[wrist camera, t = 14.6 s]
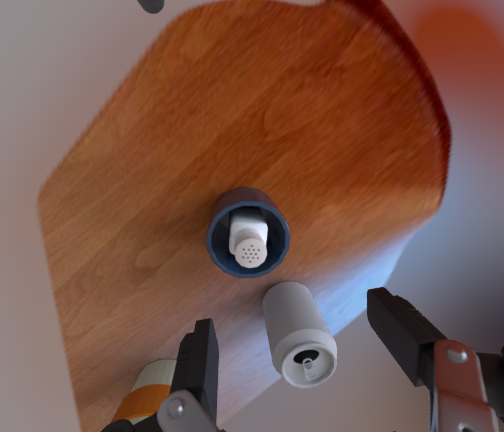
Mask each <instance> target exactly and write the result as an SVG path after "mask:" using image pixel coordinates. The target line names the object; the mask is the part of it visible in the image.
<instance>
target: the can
mask: <svg viewBox="0 0 504 432" xmlns="http://www.w3.org/2000/svg"><path fill="white" fill-rule="evenodd" d="M262 307H263V314H264V319H265V324H266V330H267V335H268V340H269V345H270V351H271V356H272V361H273V365H274V367H275V369H276V371H277V372H278V373H280V374H281V375H282V377H283V379H284V380H285V381H286V382H287V383H288V384H290V385H292V386H295V387H298V388H310V387H315V386H317V385H320V384H322V383H323V382H325V381H326V380H328V379H329V378H330V377H331V375H332V374H333V373H334V371H335V368H336V364H337V363H336V362H337V359H336V356H337V346H336V343H335V341H334V339H333V337H332V335H331V333H330V331H329V329H328V327H327V325H326V323H325V321H324V319H323V317H322V315H321V313H320V311H319V309H318V307H317V305H316V303H315V301H314V299H313V297H312V295H311V293H310V291H309V290H308V289H307V288H306V287H305V286H304V285H302V284H300V283H297V282H291V281H289V282H282V283H279V284H277V285H275V286H273V287H272V288H271V289H269V290H268V292H267V293H266V295H265V296H264V299H263V302H262Z"/></svg>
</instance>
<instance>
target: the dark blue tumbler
mask: <svg viewBox="0 0 504 432" xmlns="http://www.w3.org/2000/svg"><path fill="white" fill-rule="evenodd" d="M235 208H252V209H259V210H261V212H262V214H263V217H264V219H265V222H266V224H267V228H268V231H267V241H266V249H267V256H266V259H265V261H264V262H263V263H262V264H260V265H259V266H258V267H253V268H247V267H243V266H241V265H240V264H239V263H238V262H237V261H236V258H235V255H233V254H232V253H230V250H229V227H230V214H231V210H233V209H235ZM289 243H290V232H289V229H288V226H287V223H286V220H285V218H284V217H283V215H282V214H281V212H280V211H279V209H278V207H277V206H276V204H275V203H274V202H273V201H272V200H271V198H270V197H269V196H268V195H266V194H265V193H263V192H262V191H260V190H257V189H254V188H247V187H246V188H237V189H234V190H231V191H229V192H227V193H226V194H224V195H223V196H222V197H221V198H220V199H219V200H218V201H217V202H216V204H215V206H214V208H213V211H212V213H211V216H210V221H209V226H208V230H207V250H208V252H209V254H210V256H211V259H212V261H213V262H214V263H215V264H216V265H217V266H218V267H219V268H220V269H221V270H222V271H223V272H225V273H227V274H230V275H233V276H235V277H238V278H256V277H259V276H262V275H264V274H267V273H269V272H271V271H272V270H273V269H275V268H276V267H277V266H278V265H279V264H281V263H282V261H283V259H284V257H285V255H286V254H287V252H288V250H289Z"/></svg>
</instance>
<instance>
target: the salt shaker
mask: <svg viewBox="0 0 504 432" xmlns="http://www.w3.org/2000/svg"><path fill="white" fill-rule="evenodd" d="M267 231H268V228H267V224H266V222H265V219H264V217H263V214H262V212H261V210H259V209H252V208H235V209H233V210H231V214H230V227H229V250H230V253H232V254H233V255H235V258H236V261H237V262H238V263H239V264H240V265H241V266H243V267H247V268H253V267H258V266H259V265H260V264H262V263H263V262H264V261H265V259H266V256H267V249H266V241H267Z"/></svg>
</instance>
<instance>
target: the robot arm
mask: <svg viewBox="0 0 504 432" xmlns="http://www.w3.org/2000/svg"><path fill="white" fill-rule="evenodd" d="M367 317H368V321H369V323H370V325H371V327H372V328H373V330H374V331H375V332H376V334H377V335H378V337H379V338H380V339H381V341H382V342H383V343H384V345H385V346H386V347H387V349H388V350H389V352H390V353H391V354H392V356H393V357H394V358H395V360H396V361H397V363H398V364H399V365H400V367H401V368H402V370H403V371H404V372H405V374H406V375H407V376H408V378H409V379H410V381H411V382H412V383H413V385H414V386H415V387H419V386H424V385H426V387H427V388H428V389H429V432H500V431H499V427H498V422H497V417H496V416H498V417H499V418H500V419H501V420H502V422H503V423H504V347H503V348H502V350H501V354H500V355H499V354H487V353H477V352H474V351H473V350H472V349H471V348H470V347H468V346H467V345H465V344H463V343H461V342H458V341H455V340H449V339H447V338H446V337H445V336H444V335H443V334H442V333H441V332H440V331H439V330H438V329H437V328H436V327H434V325H433V324H432V323H430V322H429V321H428V320H427V319H426V318H425V317H424V316H422V314H421V313H420V312H419V311H418V310H416V308H415V307H414V306H413V305H412V304H410V303H409V302H408V301H407V300H405V299H403V298H401V297H399V296H398V295H397V296H393V295H392V294H391V293H390V292H389V291H387V289H385V288H384V287H380V288H375V289H369V290H368V291H367ZM178 353H179V354H178V356H177V362H176V365H175V370H174V374H173V379H172V383H171V388H170V392H169V395H168V396H167V397H166V398H165V399H164V400H163V402H162V403H161V404H160V406H159V409H158V411H157V412H155V413H154V414H153V415H151V416H149V417H147V418H145V419H143V420H142V421H140V422H138V423H136V424H134V425H133V424H132V423H131V422H130V421H129V420H127V419H120V420H116V421H114V422H112V423H110V424H109V425H107V426H106V427H105V428H104V429H103V430H102V431H101V432H226V431H225V430H223V429H222V430H219V429H218V427H217V426H216V415H217V389H218V364H219V349H218V342H217V338H216V333H215V329H214V325H213V321H212V319H211V318H208V319H203V320H197V321H196V324H195V330H194V332H193V333H187V334H186V335H185V337H184V338H183V340H182V341H181V343H180V347H179V352H178Z"/></svg>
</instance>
